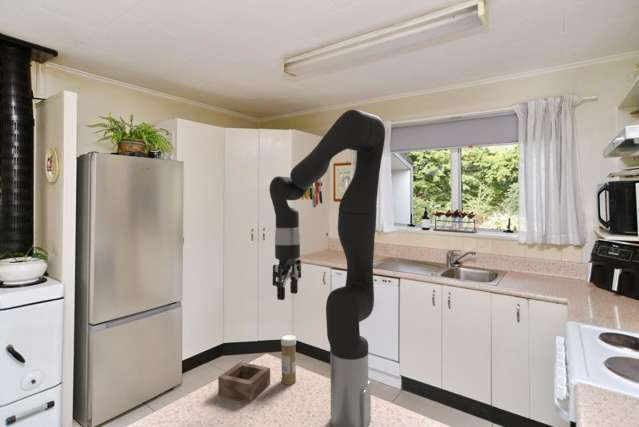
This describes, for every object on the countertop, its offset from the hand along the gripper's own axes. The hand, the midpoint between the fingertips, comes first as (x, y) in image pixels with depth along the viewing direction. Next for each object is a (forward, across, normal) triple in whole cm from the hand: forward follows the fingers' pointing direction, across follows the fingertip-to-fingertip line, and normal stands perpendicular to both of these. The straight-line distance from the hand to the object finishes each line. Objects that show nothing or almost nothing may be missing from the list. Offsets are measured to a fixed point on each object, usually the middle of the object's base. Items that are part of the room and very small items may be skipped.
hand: (287, 296), depth 102 cm
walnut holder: (+26, -9, +10) cm, 29 cm away
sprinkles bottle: (+26, 0, 0) cm, 26 cm away
